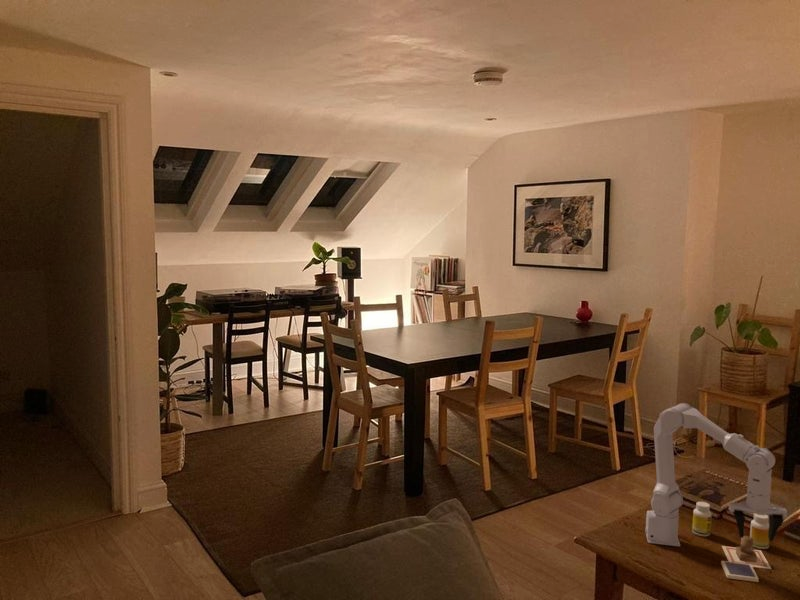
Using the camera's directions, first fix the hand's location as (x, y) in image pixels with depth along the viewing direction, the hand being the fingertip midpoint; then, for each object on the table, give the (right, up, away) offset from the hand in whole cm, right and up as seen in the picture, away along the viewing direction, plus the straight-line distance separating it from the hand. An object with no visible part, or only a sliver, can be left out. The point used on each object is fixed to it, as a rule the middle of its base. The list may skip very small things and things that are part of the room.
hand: (755, 537), depth 185 cm
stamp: (+2, -9, +9) cm, 13 cm away
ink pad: (-4, -10, +1) cm, 11 cm away
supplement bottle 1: (-4, -8, +25) cm, 26 cm away
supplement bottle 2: (+10, -9, +17) cm, 22 cm away
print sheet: (+2, -9, +9) cm, 13 cm away
